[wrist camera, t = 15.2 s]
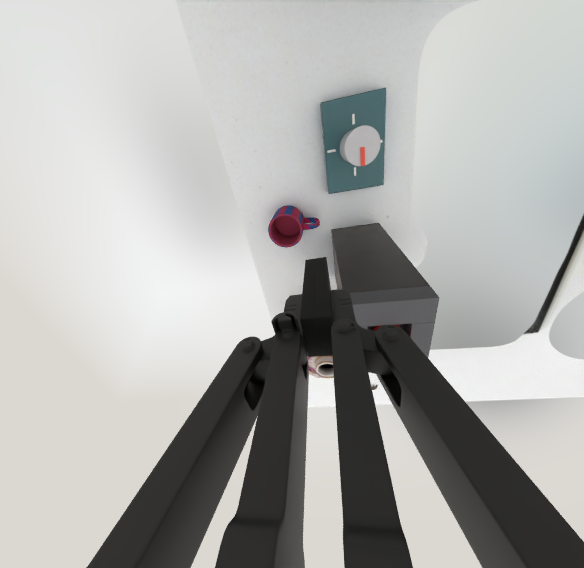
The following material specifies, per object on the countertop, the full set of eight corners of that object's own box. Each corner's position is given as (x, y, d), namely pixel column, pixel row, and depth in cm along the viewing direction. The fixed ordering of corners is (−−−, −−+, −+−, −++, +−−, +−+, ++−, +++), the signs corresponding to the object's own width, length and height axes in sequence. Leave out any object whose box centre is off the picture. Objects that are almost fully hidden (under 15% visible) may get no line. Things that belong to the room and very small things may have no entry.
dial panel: (320, 105, 39) (320, 102, 36) (381, 91, 37) (386, 87, 35) (328, 191, 46) (328, 194, 43) (379, 182, 44) (383, 185, 42)
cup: (272, 206, 48) (266, 214, 43) (319, 204, 47) (319, 212, 42) (275, 236, 52) (270, 247, 46) (319, 235, 51) (319, 246, 45)
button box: (331, 229, 50) (345, 305, 26) (378, 222, 48) (439, 297, 24) (335, 276, 56) (349, 373, 32) (377, 272, 54) (425, 370, 30)
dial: (338, 132, 38) (343, 129, 31) (369, 126, 37) (381, 121, 30) (340, 165, 41) (345, 169, 34) (369, 159, 40) (380, 162, 33)
